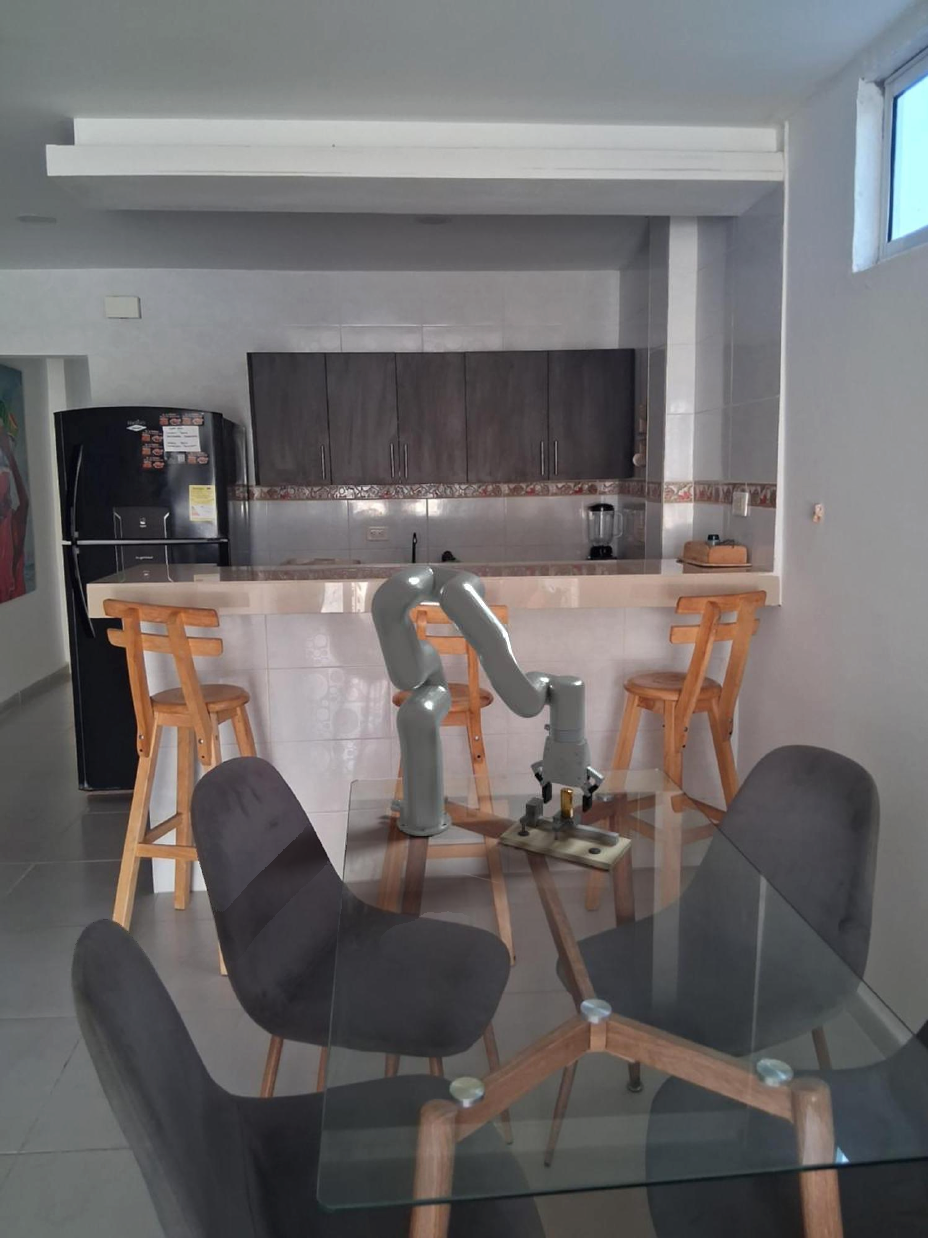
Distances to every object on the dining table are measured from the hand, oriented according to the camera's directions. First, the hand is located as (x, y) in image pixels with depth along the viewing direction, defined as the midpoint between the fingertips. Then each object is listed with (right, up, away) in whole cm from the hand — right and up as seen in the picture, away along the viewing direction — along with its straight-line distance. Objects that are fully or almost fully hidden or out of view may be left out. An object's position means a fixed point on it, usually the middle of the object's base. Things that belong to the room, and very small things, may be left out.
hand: (566, 805), depth 210 cm
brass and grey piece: (-1, -6, 0) cm, 6 cm away
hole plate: (0, -8, -1) cm, 8 cm away
